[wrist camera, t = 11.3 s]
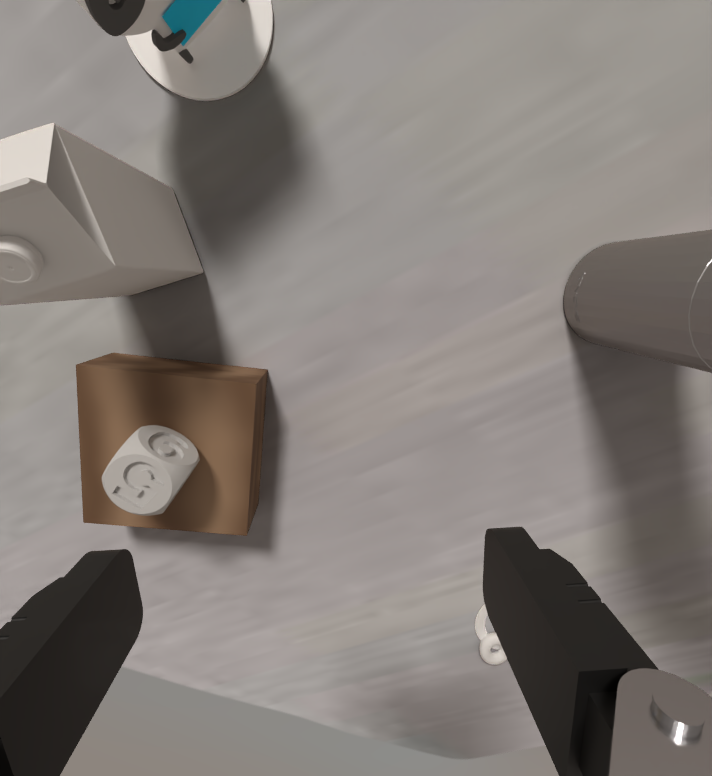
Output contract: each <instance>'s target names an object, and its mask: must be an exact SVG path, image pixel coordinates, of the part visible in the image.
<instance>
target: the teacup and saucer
mask: <svg viewBox="0 0 712 776" xmlns="http://www.w3.org/2000/svg"><path fill="white" fill-rule="evenodd" d="M487 615H488V613H487V610H486V606H485V604H484V605H483V606H482V608H481V609H480V610H479V612H478V614H477V616H476V620H475V631H476V634H477V636H478V638H479V639H480V640H481V643H480V646H479V651H480V655H481V657H482V659H483V660H484V661H485V662H486V663H488V664H491V665H498V664H501V663H503V662H504V661H506V660H507V657H506V655H505V652H504V650H503V648H502V646H501V643H500V641H499V639H498V637H497V634H496V632H493V633H489V634H488V633H487V631H486V628H485V619H486V617H487ZM491 648H493V649H496V650H498V651H496V652H491V651H490V650H491Z"/></svg>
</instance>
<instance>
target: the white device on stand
mask: <svg viewBox="0 0 712 776" xmlns="http://www.w3.org/2000/svg"><path fill="white" fill-rule="evenodd" d="M76 1H77V2H78V3H79V5H80V6H81V7H82V8H83V9H84V10H85V11H86V12H87V13H88V14H89V15H90V17H91V18H92V19H93V20H94V21H95V22H96V23H97V24H98V25H99V26H100V27H101V28H102V29H103V30H105V31H106V32H107V33H108V34H110V35H112V36H119V35H124V36H126V38H127V40H128V43H129V45H130V47H131V49H132V51H133V53H134V54H135V56H136V58H137V59H138V61H139V62H140V63H141V65H142V66H143V67H144V69H145V70H146V71H147V72H148V73H149V74H150V75H151V76H152V77H153V78H154V79H155V80H156V81H157V82H158V83H160V84H161V85H162V86H164V87H165V88H166V89H168V90H170V91H171V92H173V93H175V94H177V95H180V96H182V97H185V98H188V99H193V100H199V101H213V100H219V99H223V98H226V97H229V96H231V95H233V94H235V93H237V92H239V91H240V90H242V89H243V88H244V87H246V86H247V85H248V84H249V83H250V82H251V81H252V80H253V79H254V78H255V76H256V75H257V74H258V72H259V71H260V69H261V68H262V66H263V64H264V62H265V60H266V57H267V55H268V52H269V48H270V45H271V40H272V33H273V11H272V4H271V0H76Z"/></svg>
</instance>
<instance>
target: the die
mask: <svg viewBox="0 0 712 776" xmlns="http://www.w3.org/2000/svg"><path fill="white" fill-rule="evenodd" d="M199 461H200V458H199V454H198V452H197V449H196V447H195V446H194V445H193V443H192V442H191V441H190V440H189V439H187V438H186V437H185V436H183V435H182V434H180V433H178V432H177V431H174V430H172V429H170V428H167V427H163V426H158V425H148V426H142V427H140V428H139V429H138V430H136V431H135V432H134V433H133V434H132V435H131V436H130V437H129V438H128V439H127V441H126V442H125V443H124V444H123V445H122V446H121V448H120V449H119V450H118V451H117V453H116V454H115V455H114V457H113V458H112V460H111V461H110V463H109V464H108V466H107V467H106V469H105V471H104V473H103V475H102V484H103V487H104V490H105V492H106V494H107V495H108V497H109V498H110V500H111V501H112V502H113V503H114V504H115V505H117V506H118V507H119V508H121V509H123V510H125V511H127V512H129V513H132V514H136V515H143V516H150V515H157V514H162V513H163V512H164V511H165V510H166V508H167V507H168V506H169V504H170V503H171V502H172V500H173V499H174V497H175V496H176V495H177V493H178V492H179V490H180V489H181V487H182V486H183V485H184V483H185V482H186V480H187V479H188V477H189V476H190V474H191V473H192V471H193V470H194V468H195V467H196V465H197V464H198V462H199Z"/></svg>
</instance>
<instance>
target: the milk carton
mask: <svg viewBox="0 0 712 776" xmlns="http://www.w3.org/2000/svg"><path fill="white" fill-rule="evenodd" d="M201 273H203V269H202V266H201V263H200V261H199V258H198V255H197V253H196V250H195V247H194V245H193V242H192V239H191V237H190V234H189V231H188V229H187V226H186V223H185V221H184V218H183V215H182V213H181V210H180V207H179V205H178V202H177V199H176V197H175V194H174V192H173V189H172V188H171V187H169V186H167V185H166V184H164V183H162V182H160V181H158V180H156V179H155V178H153V177H151V176H149V175H147V174H146V173H144V172H142V171H140V170H138V169H136V168H135V167H133V166H131V165H129V164H127V163H125V162H124V161H122V160H120V159H118V158H116V157H114V156H113V155H111V154H109V153H107V152H105V151H104V150H102V149H100V148H98V147H96V146H94V145H93V144H91V143H89V142H87V141H85V140H83V139H82V138H80V137H78V136H76V135H74V134H72V133H71V132H69V131H67V130H65V129H63V128H62V127H60V126H58V125H56V124H55V123H51V124H47V125H44V126H41V127H38V128H34V129H31V130H28V131H25V132H22V133H19V134H16V135H13V136H10V137H7V138H4V139H1V140H0V305H14V304H27V303H40V302H53V301H66V300H79V299H92V298H104V297H117V296H129V295H133V294H137V293H140V292H143V291H147V290H150V289H153V288H156V287H160V286H163V285H166V284H169V283H172V282H176V281H179V280H182V279H185V278H189V277H192V276H195V275H198V274H201Z"/></svg>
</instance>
